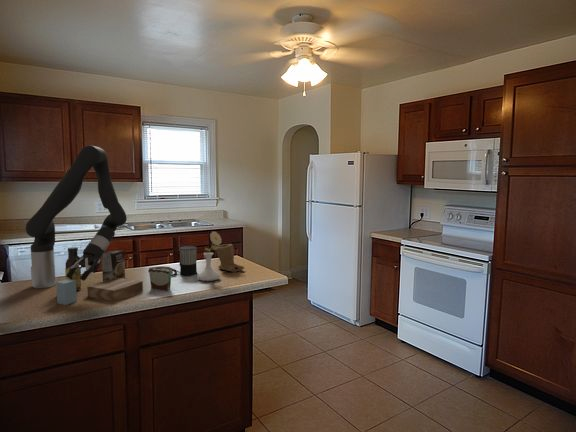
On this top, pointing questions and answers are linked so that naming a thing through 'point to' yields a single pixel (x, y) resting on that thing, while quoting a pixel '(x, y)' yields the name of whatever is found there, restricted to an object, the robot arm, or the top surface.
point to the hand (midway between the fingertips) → (74, 278)
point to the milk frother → (187, 261)
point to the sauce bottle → (76, 276)
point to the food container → (160, 278)
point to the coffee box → (113, 265)
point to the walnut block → (115, 289)
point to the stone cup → (227, 258)
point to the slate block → (66, 291)
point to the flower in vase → (208, 272)
